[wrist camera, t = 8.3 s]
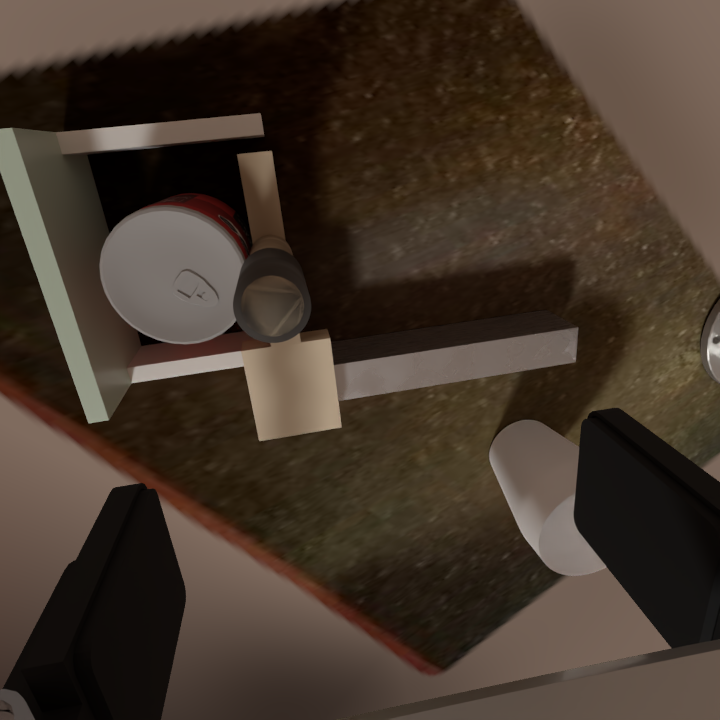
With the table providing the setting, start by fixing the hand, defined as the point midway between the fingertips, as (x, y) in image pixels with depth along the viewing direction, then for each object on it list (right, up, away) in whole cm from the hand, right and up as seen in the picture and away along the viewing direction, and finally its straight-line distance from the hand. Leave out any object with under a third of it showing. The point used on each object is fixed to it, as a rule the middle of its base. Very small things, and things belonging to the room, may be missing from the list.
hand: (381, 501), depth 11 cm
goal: (-12, +11, +27) cm, 32 cm away
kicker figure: (-7, +9, +28) cm, 30 cm away
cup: (+15, -6, +39) cm, 42 cm away
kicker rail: (+5, +4, +33) cm, 34 cm away
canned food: (-12, +12, +27) cm, 32 cm away
